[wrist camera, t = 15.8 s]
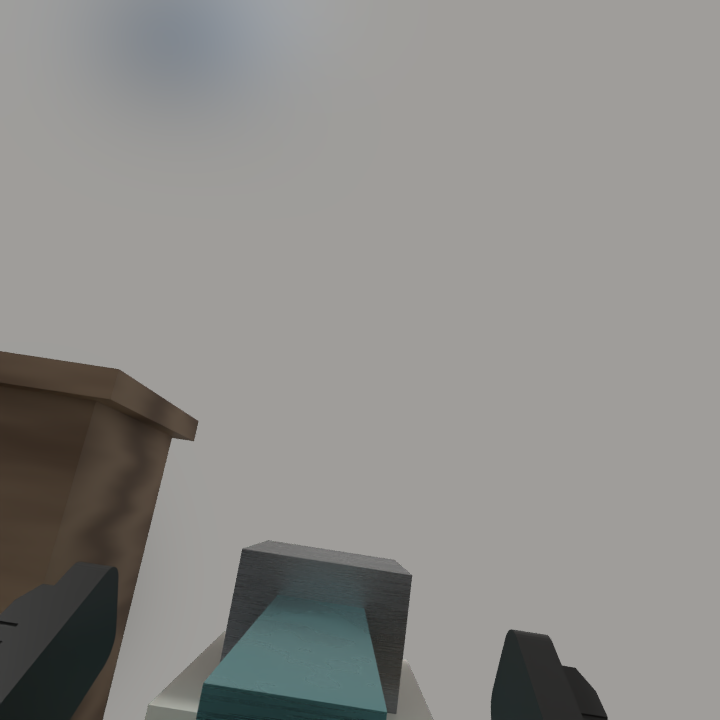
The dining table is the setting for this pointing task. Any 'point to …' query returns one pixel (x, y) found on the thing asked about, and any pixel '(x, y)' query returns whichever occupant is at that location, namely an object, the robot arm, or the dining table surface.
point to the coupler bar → (310, 637)
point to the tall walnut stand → (79, 480)
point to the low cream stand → (181, 697)
